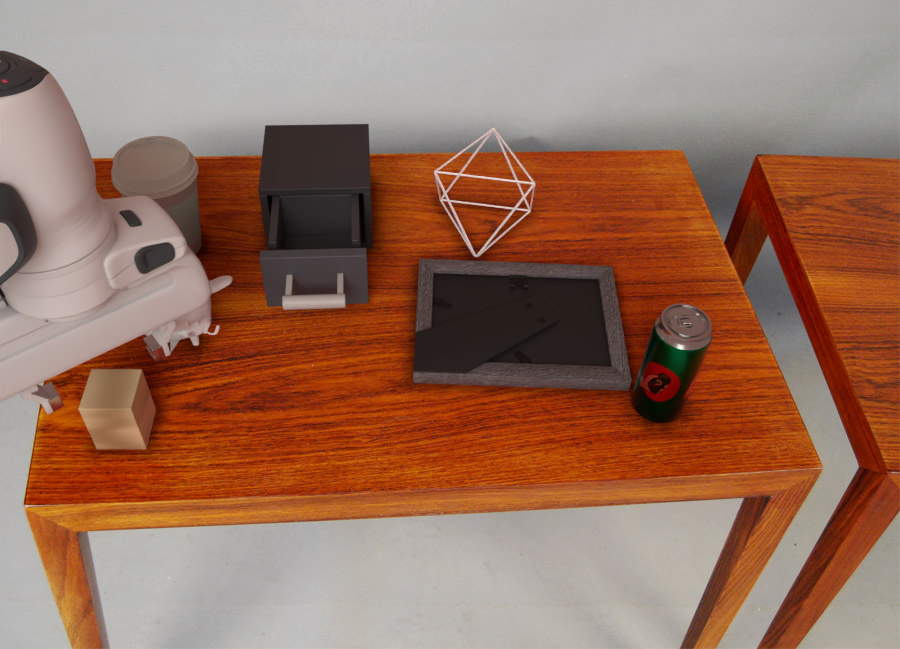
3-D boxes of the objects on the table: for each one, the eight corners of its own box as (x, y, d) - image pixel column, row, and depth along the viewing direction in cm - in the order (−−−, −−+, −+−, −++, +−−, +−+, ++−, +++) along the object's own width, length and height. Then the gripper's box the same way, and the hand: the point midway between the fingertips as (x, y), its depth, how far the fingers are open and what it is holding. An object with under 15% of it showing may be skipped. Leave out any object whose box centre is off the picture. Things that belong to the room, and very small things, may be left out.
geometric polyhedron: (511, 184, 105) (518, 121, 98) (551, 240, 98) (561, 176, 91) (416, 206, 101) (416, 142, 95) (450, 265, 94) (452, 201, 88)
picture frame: (413, 383, 83) (628, 390, 83) (413, 369, 82) (632, 377, 82) (419, 268, 94) (609, 276, 94) (419, 255, 92) (612, 263, 93)
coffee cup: (230, 239, 96) (212, 151, 87) (175, 283, 91) (150, 194, 82) (174, 211, 99) (151, 123, 90) (117, 252, 94) (88, 163, 85)
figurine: (128, 323, 89) (105, 372, 80) (114, 248, 85) (88, 292, 76) (246, 317, 90) (235, 366, 82) (237, 244, 86) (225, 286, 78)
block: (96, 449, 76) (77, 409, 72) (108, 409, 79) (91, 368, 75) (146, 449, 77) (131, 409, 72) (156, 410, 80) (142, 368, 75)
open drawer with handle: (369, 334, 86) (367, 286, 81) (264, 338, 85) (256, 289, 80) (367, 236, 96) (365, 188, 91) (273, 238, 95) (265, 190, 90)
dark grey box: (372, 248, 96) (370, 187, 90) (267, 251, 95) (258, 189, 89) (370, 183, 104) (368, 123, 97) (273, 185, 103) (265, 125, 96)
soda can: (687, 427, 81) (722, 343, 72) (634, 426, 81) (662, 342, 72) (676, 385, 84) (709, 300, 75) (625, 384, 84) (652, 299, 75)
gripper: (-78, 350, 57) (-4, 466, 67) (204, 230, 66) (231, 348, 76) (-105, 295, 60) (-31, 414, 70) (167, 188, 69) (198, 307, 79)
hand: (107, 379), depth 73 cm, fingers open, 8 cm apart
